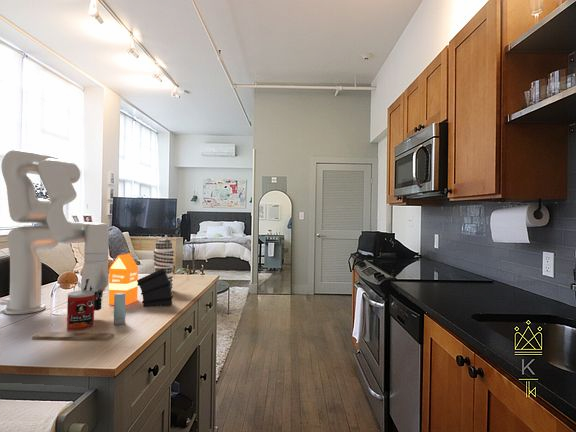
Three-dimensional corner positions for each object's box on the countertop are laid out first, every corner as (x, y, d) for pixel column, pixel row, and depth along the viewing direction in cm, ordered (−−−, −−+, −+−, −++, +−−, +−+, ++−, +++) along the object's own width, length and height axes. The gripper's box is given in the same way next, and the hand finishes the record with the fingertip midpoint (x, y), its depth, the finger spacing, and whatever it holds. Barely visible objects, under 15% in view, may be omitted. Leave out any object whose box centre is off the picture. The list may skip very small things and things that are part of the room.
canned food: (66, 331, 112) (67, 296, 112) (67, 324, 119) (68, 291, 119) (94, 328, 116) (95, 294, 116) (93, 321, 122) (94, 289, 122)
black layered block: (179, 302, 145) (163, 268, 143) (148, 317, 143) (131, 283, 141) (180, 299, 148) (164, 267, 147) (149, 314, 146) (133, 281, 145)
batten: (32, 339, 105) (32, 336, 105) (41, 334, 109) (41, 331, 109) (107, 340, 105) (107, 337, 105) (114, 335, 109) (114, 333, 109)
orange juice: (137, 300, 154) (138, 253, 154) (126, 305, 145) (127, 255, 145) (120, 299, 155) (121, 253, 154) (108, 304, 146) (109, 255, 146)
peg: (111, 325, 119) (112, 295, 119) (116, 321, 123) (117, 292, 122) (122, 325, 119) (122, 295, 119) (126, 322, 123) (127, 292, 122)
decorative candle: (169, 293, 167) (170, 240, 167) (149, 293, 167) (150, 239, 167) (175, 289, 176) (176, 238, 176) (157, 289, 176) (158, 238, 176)
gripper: (97, 255, 134) (96, 304, 134) (73, 260, 119) (72, 315, 119) (117, 255, 134) (116, 304, 134) (95, 260, 119) (94, 316, 119)
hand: (95, 309), depth 126 cm, fingers closed
